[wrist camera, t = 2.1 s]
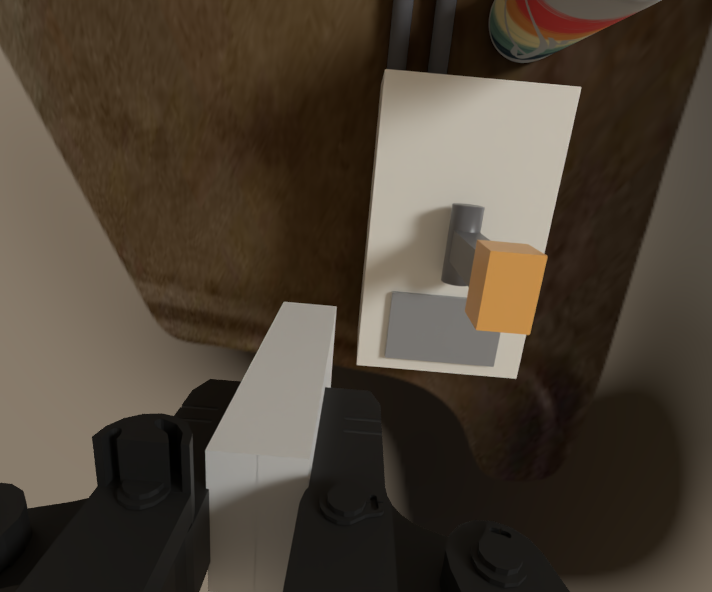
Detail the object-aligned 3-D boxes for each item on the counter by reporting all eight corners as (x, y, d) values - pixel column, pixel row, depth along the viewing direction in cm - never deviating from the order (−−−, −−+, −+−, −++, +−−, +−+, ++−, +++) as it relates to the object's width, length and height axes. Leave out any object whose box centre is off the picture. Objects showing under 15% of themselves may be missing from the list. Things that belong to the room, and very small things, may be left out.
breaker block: (381, 83, 34) (385, 67, 27) (539, 98, 34) (584, 86, 27) (357, 328, 40) (356, 367, 33) (491, 340, 40) (517, 381, 33)
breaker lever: (446, 202, 29) (493, 234, 19) (483, 205, 29) (551, 239, 19) (435, 276, 31) (473, 344, 20) (470, 279, 31) (526, 349, 20)
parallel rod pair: (398, -59, 31) (400, -68, 30) (462, -53, 31) (466, -62, 30) (385, 84, 34) (385, 81, 33) (443, 89, 34) (446, 87, 33)
